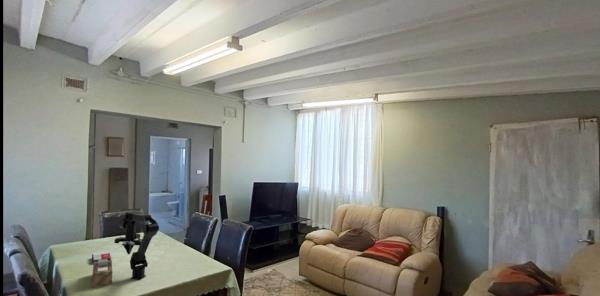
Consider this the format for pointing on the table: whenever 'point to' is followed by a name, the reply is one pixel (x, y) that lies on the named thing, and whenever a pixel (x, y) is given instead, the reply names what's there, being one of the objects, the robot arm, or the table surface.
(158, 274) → the table surface
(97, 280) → the brown rectangular box
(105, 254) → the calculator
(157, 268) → the table surface
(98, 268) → the cream button
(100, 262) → the grey button
